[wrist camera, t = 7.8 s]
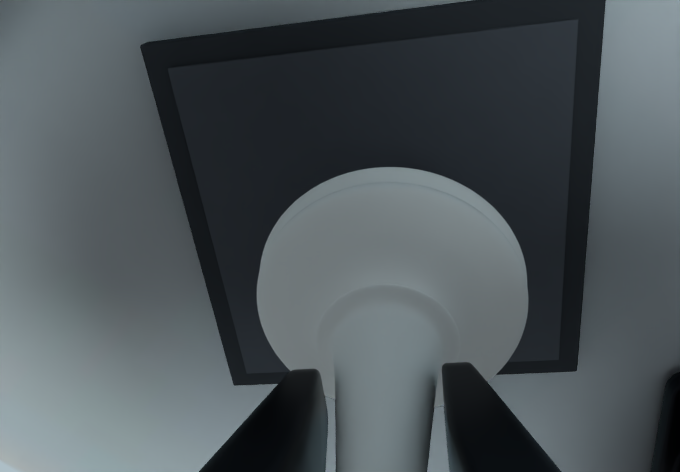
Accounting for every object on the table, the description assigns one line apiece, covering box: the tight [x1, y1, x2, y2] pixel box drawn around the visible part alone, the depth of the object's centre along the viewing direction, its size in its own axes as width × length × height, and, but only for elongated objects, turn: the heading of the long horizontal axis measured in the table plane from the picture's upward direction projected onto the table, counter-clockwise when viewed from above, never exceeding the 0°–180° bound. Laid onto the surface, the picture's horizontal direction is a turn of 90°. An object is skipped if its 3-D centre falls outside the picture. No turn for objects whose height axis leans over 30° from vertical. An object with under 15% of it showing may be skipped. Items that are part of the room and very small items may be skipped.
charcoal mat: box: [141, 0, 606, 385], centre depth 13 cm, size 9×9×1 cm
